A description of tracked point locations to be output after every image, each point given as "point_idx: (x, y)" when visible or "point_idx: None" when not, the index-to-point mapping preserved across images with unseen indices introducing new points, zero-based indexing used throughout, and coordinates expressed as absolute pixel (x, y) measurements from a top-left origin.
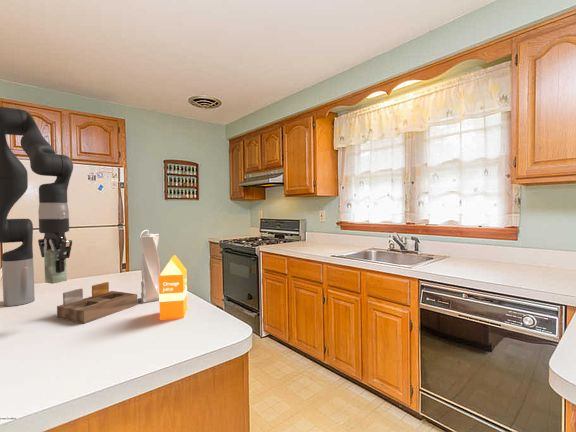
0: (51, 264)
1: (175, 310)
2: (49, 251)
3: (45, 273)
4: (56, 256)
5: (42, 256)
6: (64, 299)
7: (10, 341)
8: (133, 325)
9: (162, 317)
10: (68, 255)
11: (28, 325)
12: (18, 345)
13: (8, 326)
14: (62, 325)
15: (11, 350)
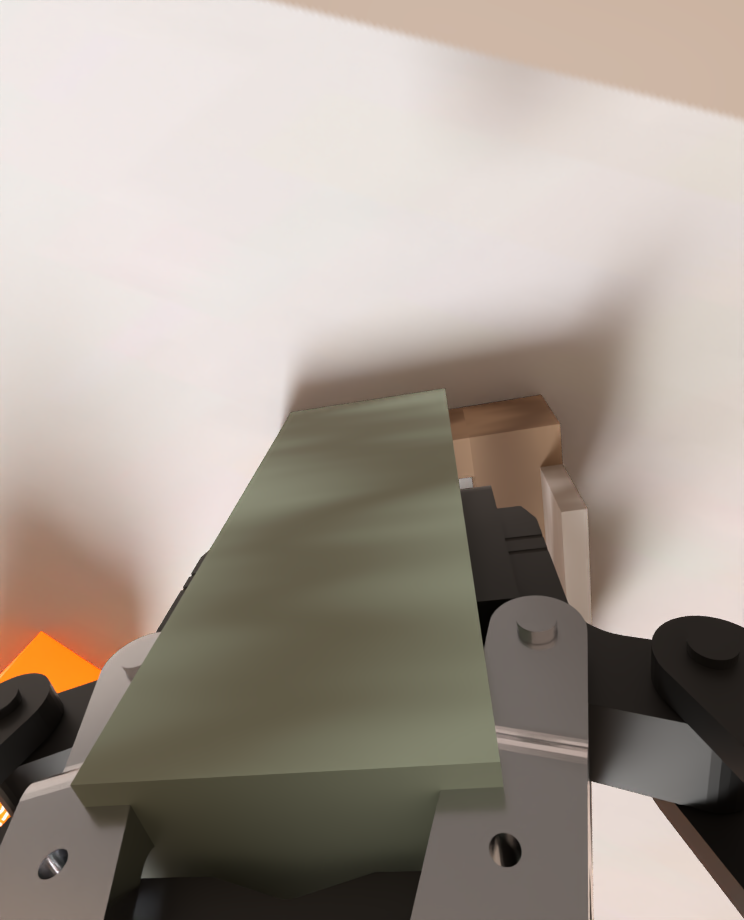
0: (239, 539)
1: None
2: (194, 771)
3: (430, 434)
4: (116, 706)
5: (701, 631)
6: (554, 484)
7: (325, 52)
8: (54, 544)
9: (28, 645)
10: (7, 820)
11: (564, 232)
12: (202, 67)
13: (687, 134)
14: (358, 358)
15: (142, 10)
